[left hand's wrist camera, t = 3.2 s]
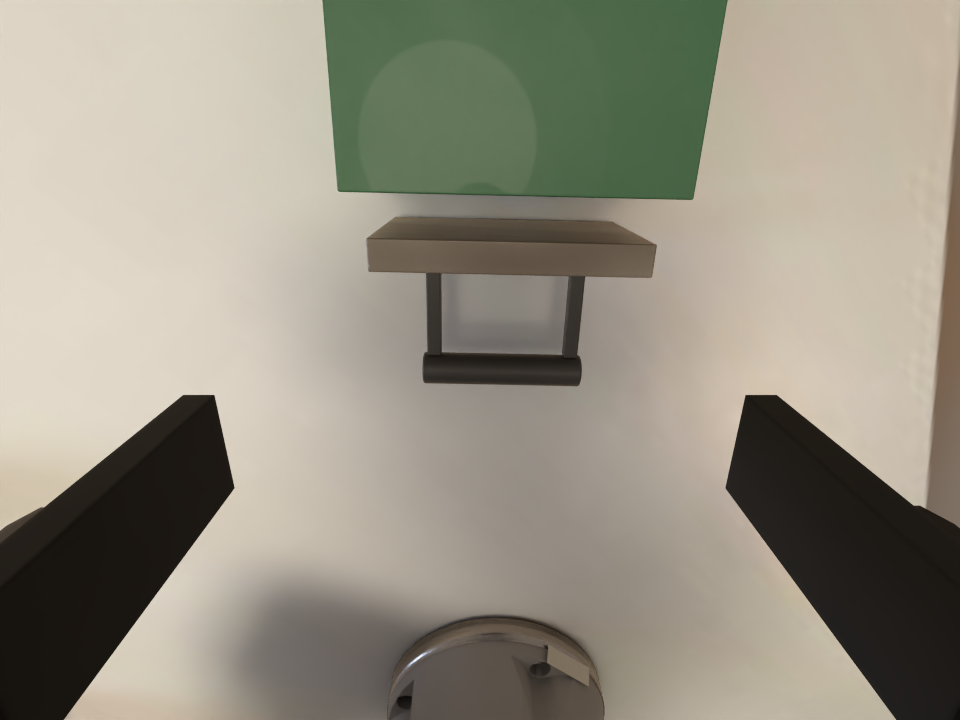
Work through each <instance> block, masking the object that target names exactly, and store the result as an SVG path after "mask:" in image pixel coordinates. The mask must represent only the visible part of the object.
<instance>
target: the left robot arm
mask: <svg viewBox="0 0 960 720" xmlns="http://www.w3.org/2000/svg"><path fill="white" fill-rule="evenodd" d="M233 489H234V484H233V479H232V474H231V470H230V465H229V461H228V456H227V451H226V447H225V442H224V437H223V433H222V428H221V424H220V419H219V414H218V410H217V405H216V401H215V396H214V395H183V396H182V397H180V398H179V399H178V400H177V401H175V402H174V403H173V404H172V405H170V406H169V407H168V408H167V409H166V410H164V411H163V412H162V413H161V414H159V415H158V416H157V417H156V418H154V419H153V420H152V421H151V422H149V423H148V424H147V425H146V426H145V427H143V428H142V429H141V430H140V431H138V432H137V433H136V434H135V435H133V436H132V437H131V438H130V439H128V440H127V441H126V442H125V443H123V444H122V445H121V446H120V447H119V448H117V449H116V450H115V451H114V452H112V453H111V454H110V455H109V456H107V457H106V458H105V459H104V460H102V461H101V462H100V463H99V464H97V465H96V466H95V467H94V468H93V469H91V470H90V471H89V472H88V473H86V474H85V475H84V476H83V477H81V478H80V479H79V480H78V481H76V482H75V483H74V484H73V485H72V486H70V487H69V488H68V489H67V490H65V491H64V492H63V493H62V494H60V495H59V496H58V497H57V498H55V499H54V500H53V501H52V502H50V503H49V504H48V505H47V506H46V507H44V508H39V509H37V510H35V511H33V512H32V513H30V514H28V515H26V516H24V517H22V518H20V519H18V520H17V521H15V522H13V523H11V524H9V525H7V526H6V527H5V528H3V529H2V530H1V531H0V720H64V719H65V717H66V716H67V714H68V713H69V712H70V710H71V709H72V708H73V706H74V705H75V704H76V702H77V701H78V700H79V698H80V697H81V696H82V694H83V693H84V691H85V690H86V689H87V687H88V686H89V685H90V683H91V682H92V681H93V679H94V678H95V677H96V675H97V674H98V672H99V671H100V670H101V668H102V667H103V666H104V664H105V663H106V662H107V660H108V659H109V658H110V656H111V655H112V653H113V652H114V651H115V649H116V648H117V647H118V645H119V644H120V643H121V641H122V640H123V639H124V637H125V636H126V635H127V633H128V632H129V630H130V629H131V628H132V626H133V625H134V624H135V622H136V621H137V620H138V618H139V617H140V616H141V614H142V613H143V611H144V610H145V609H146V607H147V606H148V605H149V603H150V602H151V601H152V599H153V598H154V597H155V595H156V594H157V592H158V591H159V590H160V588H161V587H162V586H163V584H164V583H165V582H166V580H167V579H168V578H169V576H170V575H171V574H172V572H173V571H174V569H175V568H176V567H177V565H178V564H179V563H180V561H181V560H182V559H183V557H184V556H185V555H186V553H187V552H188V550H189V549H190V548H191V546H192V545H193V544H194V542H195V541H196V540H197V538H198V537H199V536H200V534H201V533H202V531H203V530H204V529H205V527H206V526H207V525H208V523H209V522H210V521H211V519H212V518H213V517H214V515H215V514H216V513H217V511H218V510H219V508H220V507H221V506H222V504H223V503H224V502H225V500H226V499H227V498H228V496H229V495H230V494H231V492H232V491H233ZM726 489H727V491H728V492H729V494H730V495H731V496H732V498H733V499H734V500H735V502H736V503H737V504H738V506H739V507H740V508H741V510H742V511H743V513H744V514H745V515H746V517H747V518H748V519H749V521H750V522H751V523H752V525H753V526H754V527H755V529H756V530H757V531H758V533H759V534H760V536H761V537H762V538H763V540H764V541H765V542H766V544H767V545H768V546H769V548H770V549H771V550H772V552H773V553H774V555H775V556H776V557H777V559H778V560H779V561H780V563H781V564H782V565H783V567H784V568H785V569H786V571H787V572H788V574H789V575H790V576H791V578H792V579H793V580H794V582H795V583H796V584H797V586H798V587H799V588H800V590H801V591H802V592H803V594H804V595H805V597H806V598H807V599H808V601H809V602H810V603H811V605H812V606H813V607H814V609H815V610H816V611H817V613H818V614H819V616H820V617H821V618H822V620H823V621H824V622H825V624H826V625H827V626H828V628H829V629H830V630H831V632H832V633H833V635H834V636H835V637H836V639H837V640H838V641H839V643H840V644H841V645H842V647H843V648H844V649H845V651H846V652H847V653H848V655H849V656H850V658H851V659H852V660H853V662H854V663H855V664H856V666H857V667H858V668H859V670H860V671H861V672H862V674H863V675H864V677H865V678H866V679H867V681H868V682H869V683H870V685H871V686H872V687H873V689H874V690H875V691H876V693H877V694H878V696H879V697H880V698H881V700H882V701H883V702H884V704H885V705H886V706H887V708H888V709H889V710H890V712H891V713H892V714H893V716H894V717H895V719H896V720H960V528H959V527H957V526H956V525H955V524H953V523H951V522H949V521H948V520H946V519H944V518H942V517H940V516H938V515H936V514H934V513H932V512H931V511H929V510H927V509H925V508H923V507H921V506H913V505H912V504H911V503H910V502H908V501H907V500H906V499H905V498H903V497H902V496H901V495H900V494H898V493H897V492H896V491H895V490H893V489H892V488H891V487H890V486H888V485H887V484H886V483H885V482H884V481H882V480H881V479H880V478H879V477H877V476H876V475H875V474H874V473H872V472H871V471H870V470H869V469H867V468H866V467H865V466H864V465H863V464H861V463H860V462H859V461H858V460H856V459H855V458H854V457H853V456H851V455H850V454H849V453H848V452H846V451H845V450H844V449H843V448H841V447H840V446H839V445H838V444H837V443H835V442H834V441H833V440H832V439H830V438H829V437H828V436H827V435H825V434H824V433H823V432H822V431H820V430H819V429H818V428H817V427H815V426H814V425H813V424H812V423H811V422H809V421H808V420H807V419H806V418H804V417H803V416H802V415H801V414H799V413H798V412H797V411H796V410H794V409H793V408H792V407H791V406H790V405H788V404H787V403H786V402H785V401H783V400H782V399H781V398H780V397H778V396H777V395H746V396H745V401H744V405H743V410H742V414H741V419H740V424H739V428H738V433H737V437H736V442H735V447H734V451H733V456H732V461H731V465H730V470H729V474H728V479H727V484H726ZM387 719H388V720H604V702H603V697H602V693H601V688H600V684H599V679H598V675H597V672H596V669H595V667H594V665H593V663H592V662H591V660H590V658H589V657H588V656H587V654H586V653H585V652H584V651H583V650H582V649H581V648H580V647H579V646H578V645H577V644H576V643H574V642H573V641H572V640H570V639H569V638H567V637H566V636H564V635H563V634H561V633H559V632H557V631H555V630H553V629H550V628H548V627H545V626H543V625H539V624H536V623H532V622H528V621H523V620H517V619H507V618H485V619H476V620H469V621H464V622H460V623H456V624H453V625H450V626H447V627H444V628H442V629H439V630H437V631H435V632H433V633H431V634H429V635H428V636H426V637H424V638H423V639H421V640H420V641H419V642H417V643H416V644H415V645H413V646H412V647H411V648H410V649H409V650H408V651H407V652H406V654H405V655H404V656H403V657H402V659H401V660H400V662H399V663H398V665H397V667H396V669H395V671H394V674H393V677H392V683H391V689H390V695H389V700H388V706H387Z"/></svg>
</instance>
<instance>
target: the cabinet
mask: <svg viewBox="0 0 960 720" xmlns="http://www.w3.org/2000/svg"><path fill="white" fill-rule="evenodd" d="M726 6H727V0H323V12H324V24H325V37H326V49H327V62H328V74H329V87H330V100H331V112H332V125H333V137H334V150H335V162H336V175H337V187H338V191H339V192H372V193H415V194H459V195H502V196H546V197H589V198H633V199H676V200H692V199H693V197H694V191H695V186H696V180H697V174H698V168H699V162H700V157H701V151H702V145H703V139H704V133H705V128H706V122H707V116H708V110H709V104H710V99H711V93H712V87H713V81H714V75H715V70H716V64H717V58H718V52H719V46H720V40H721V35H722V29H723V23H724V17H725V11H726Z"/></svg>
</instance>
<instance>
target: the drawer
mask: <svg viewBox="0 0 960 720" xmlns="http://www.w3.org/2000/svg"><path fill="white" fill-rule="evenodd" d="M366 243H367V259H368V271H369V272H406V273H426V288H427V343H428V352H425V353H424V357H423V381H424V383H446V384H496V385H545V386H578V385H579V384H580V381H581V374H582V365H581V359H580V357H579V356H578V355H577V351H578V342H579V332H580V322H581V312H582V302H583V292H584V282H585V276H589V277H635V278H651V277H652V273H653V267H654V260H655V253H656V247H657V246H656V244H654V243H652V242H650V241H648V240H646V239H644V238H642V237H640V236H638V235H636V234H635V233H633V232H631V231H629V230H627V229H625V228H623V227H621V226H619V225H617V224H615V223H613V222H592V221H547V220H503V219H459V218H415V217H395V218H393V219H392V220H391V221H389V222H388V223H387V224H385V225H384V226H383V227H381V228H380V229H379V230H377V231H376V232H375V233H373V234H372V235H371V236H369V237H368V238H367V239H366ZM441 273H451V274H497V275H543V276H569V280H568V292H567V303H566V314H565V325H564V337H563V348H562V354H563V355H543V354H495V353H446V352H442V303H441Z"/></svg>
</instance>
